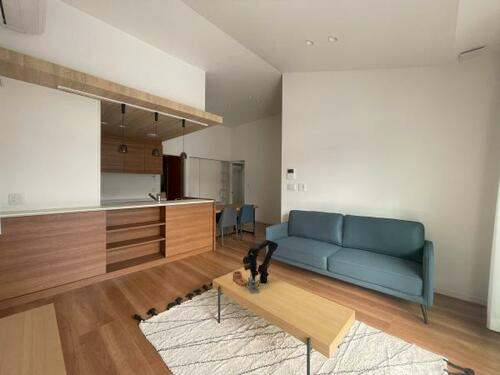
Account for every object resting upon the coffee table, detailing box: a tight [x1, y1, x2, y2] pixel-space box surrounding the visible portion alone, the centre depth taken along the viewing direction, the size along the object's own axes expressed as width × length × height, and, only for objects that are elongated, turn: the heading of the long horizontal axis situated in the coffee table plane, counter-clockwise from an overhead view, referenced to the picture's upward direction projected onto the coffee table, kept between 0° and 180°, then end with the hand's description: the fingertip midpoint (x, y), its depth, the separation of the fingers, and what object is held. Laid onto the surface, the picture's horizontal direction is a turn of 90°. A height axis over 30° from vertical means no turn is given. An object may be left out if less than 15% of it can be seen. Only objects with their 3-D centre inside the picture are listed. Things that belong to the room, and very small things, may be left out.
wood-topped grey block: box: [249, 273, 258, 285], centre depth 189 cm, size 6×3×9 cm, turn 97°
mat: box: [249, 287, 261, 295], centre depth 179 cm, size 8×8×1 cm
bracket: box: [232, 270, 248, 287], centre depth 196 cm, size 18×8×7 cm, turn 33°
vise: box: [247, 276, 259, 289], centre depth 190 cm, size 8×10×5 cm
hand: (253, 278), depth 189 cm, fingers closed on wood-topped grey block, 3 cm apart
